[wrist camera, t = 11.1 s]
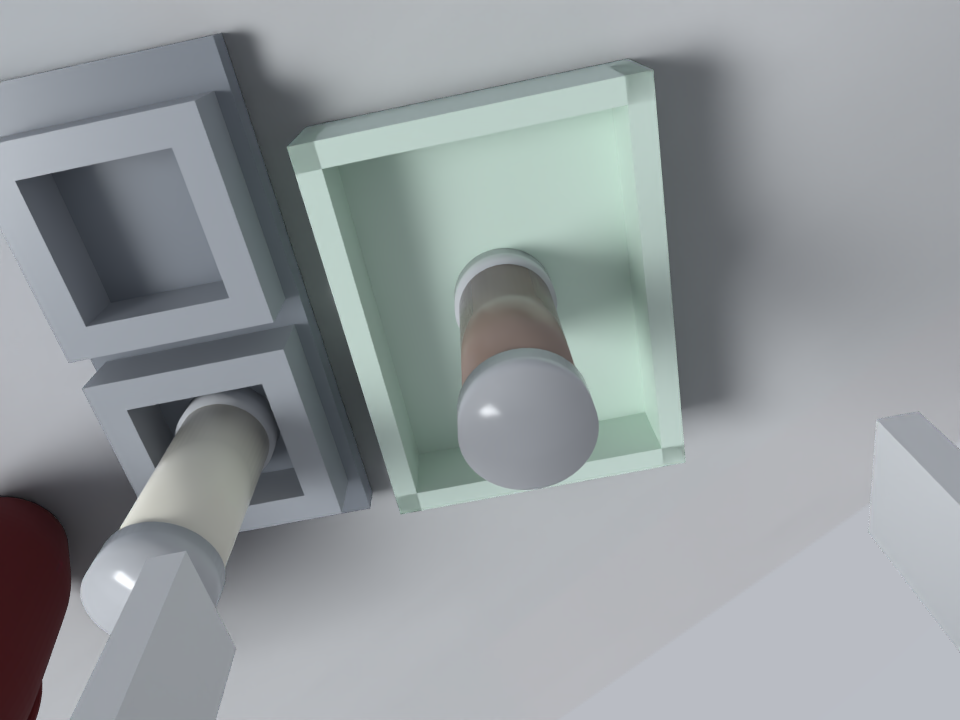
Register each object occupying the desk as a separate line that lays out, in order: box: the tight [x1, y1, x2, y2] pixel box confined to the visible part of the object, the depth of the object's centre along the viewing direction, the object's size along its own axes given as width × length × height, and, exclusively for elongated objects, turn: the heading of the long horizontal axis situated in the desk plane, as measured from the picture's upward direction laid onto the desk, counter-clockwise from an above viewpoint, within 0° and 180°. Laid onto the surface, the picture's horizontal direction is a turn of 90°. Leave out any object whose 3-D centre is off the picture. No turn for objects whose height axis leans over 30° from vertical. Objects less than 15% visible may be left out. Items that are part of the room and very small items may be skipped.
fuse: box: [80, 387, 280, 635], centre depth 24 cm, size 4×4×9 cm
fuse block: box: [0, 33, 372, 532], centre depth 26 cm, size 18×8×3 cm, turn 11°
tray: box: [287, 59, 685, 514], centre depth 26 cm, size 14×11×3 cm
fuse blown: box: [454, 248, 599, 490], centre depth 22 cm, size 4×4×9 cm
